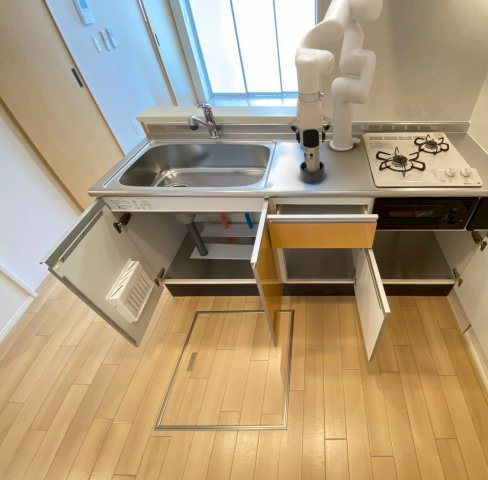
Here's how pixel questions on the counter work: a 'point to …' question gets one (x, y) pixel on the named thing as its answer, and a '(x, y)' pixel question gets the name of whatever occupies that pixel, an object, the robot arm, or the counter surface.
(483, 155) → the counter surface
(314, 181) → the can holder
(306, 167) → the spray can
